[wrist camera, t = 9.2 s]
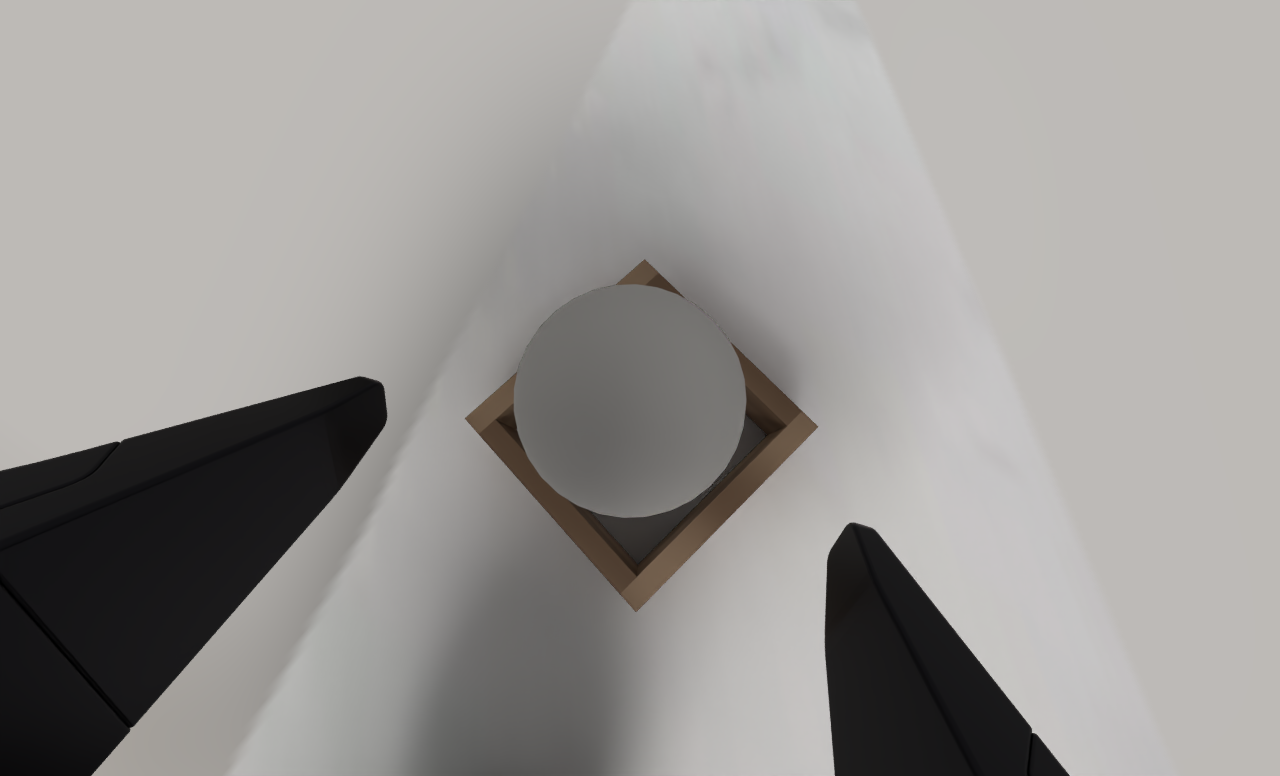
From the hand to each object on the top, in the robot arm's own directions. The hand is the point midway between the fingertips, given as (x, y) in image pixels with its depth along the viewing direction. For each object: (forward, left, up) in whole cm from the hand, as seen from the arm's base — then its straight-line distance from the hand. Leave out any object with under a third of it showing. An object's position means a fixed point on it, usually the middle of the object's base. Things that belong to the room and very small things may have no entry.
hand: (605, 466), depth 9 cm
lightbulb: (+2, +1, -12) cm, 12 cm away
